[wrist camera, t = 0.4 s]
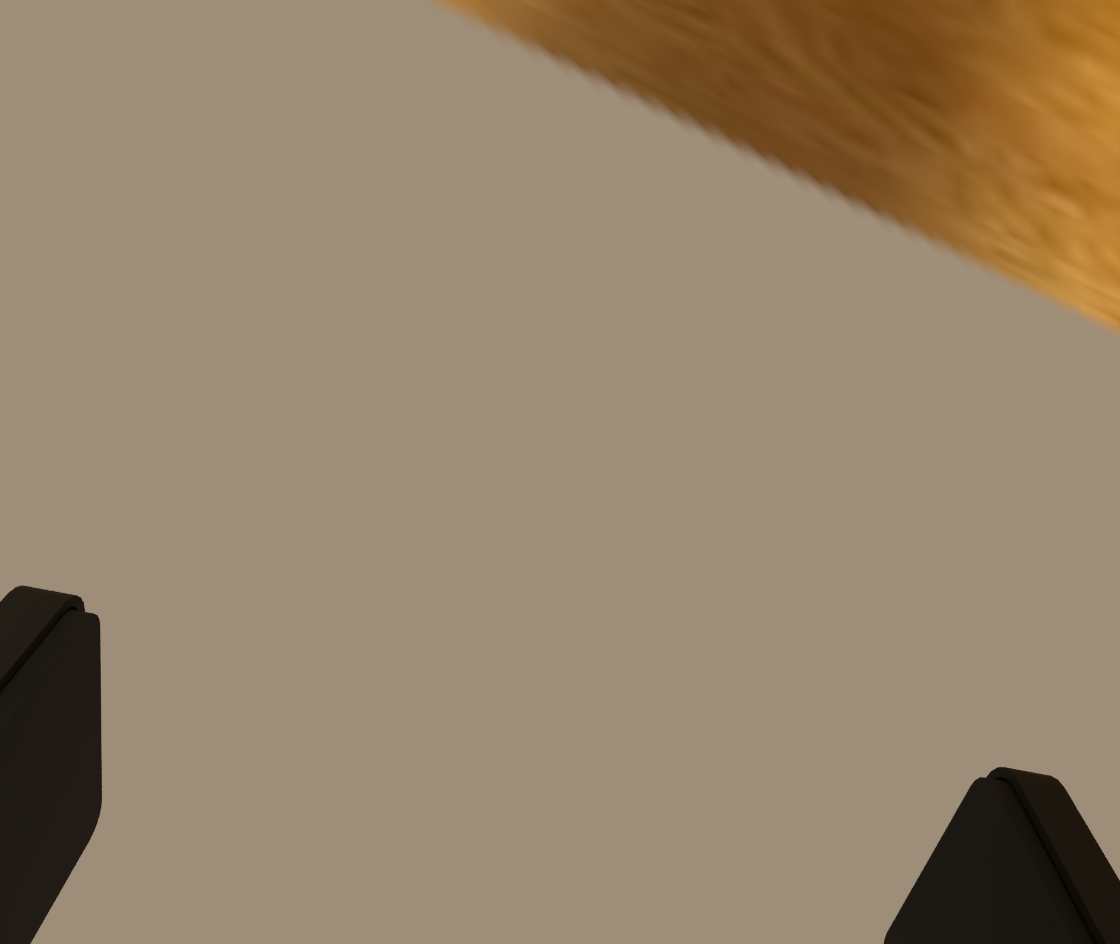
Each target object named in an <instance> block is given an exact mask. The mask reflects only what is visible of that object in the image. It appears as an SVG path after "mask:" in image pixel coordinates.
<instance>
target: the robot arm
mask: <svg viewBox="0 0 1120 944" xmlns="http://www.w3.org/2000/svg"><path fill="white" fill-rule="evenodd" d="M100 665H101V662H100V621H99V618H98V616H97V615H95V614H93V613H87V612H85V608H84V603H83V601H82V599H81V598H80V597H78V596H76V595H71V594H66V593H60V592H55V591H49V590H43V589H38V588H33V587H28V586H18V587H16V588H14V589H13V590H12V591H10V592H9V593H8V594H7V595H6V596H5V597H4V598H3V600H2V601H1V602H0V944H30V943H31V942H32V940H33V938H34V936H35V934H36V933H37V931H38V929H39V928H40V926H41V924H42V923H43V921H44V919H45V917H46V915H47V914H48V912H49V910H50V908H51V907H52V905H53V903H54V902H55V900H56V898H57V896H58V895H59V893H60V891H61V889H62V888H63V886H64V884H65V882H66V881H67V879H68V877H69V875H70V874H71V871H72V870H73V868H74V867H75V865H76V863H77V861H78V860H79V858H80V856H81V854H82V853H83V851H84V849H85V847H86V846H87V844H88V842H89V840H90V838H91V836H92V834H93V832H94V830H95V827H96V824H97V822H98V818H99V815H100V810H101V804H102V773H101V772H102V765H101V763H102V762H101V666H100ZM884 944H1120V880H1119V879H1118V877H1117V875H1116V874H1115V872H1114V870H1113V869H1112V867H1111V865H1110V864H1109V862H1108V860H1107V859H1106V857H1105V855H1104V853H1103V852H1102V850H1101V848H1100V847H1099V845H1098V843H1097V842H1096V840H1095V838H1094V837H1093V835H1092V833H1091V831H1090V830H1089V828H1088V826H1087V825H1086V823H1085V821H1084V820H1083V818H1082V816H1081V815H1080V813H1079V811H1078V810H1077V808H1076V806H1075V805H1074V803H1073V801H1072V800H1071V798H1070V796H1069V794H1068V793H1067V791H1066V790H1065V788H1064V786H1063V785H1062V784H1061V783H1060V782H1059V780H1057V779H1056V778H1054V777H1052V776H1049V775H1043V774H1038V773H1033V772H1027V771H1021V770H1016V769H1011V768H1006V767H998V768H996V769H994V770H993V771H991V772H990V773H989V775H988V776H987V777H986V778H981V777H980V778H978V779H977V780H975V781H974V782H973V784H972V785H971V786H970V788H969V790H968V792H967V794H966V795H965V797H964V799H963V801H962V803H961V804H960V806H959V808H958V809H957V811H956V813H955V815H954V816H953V818H952V820H951V822H950V823H949V825H948V827H947V829H946V830H945V832H944V834H943V836H942V837H941V839H940V841H939V843H938V844H937V846H936V848H935V850H934V851H933V853H932V855H931V857H930V858H929V860H928V862H927V864H926V865H925V867H924V869H923V871H922V872H921V874H920V876H919V878H918V879H917V881H916V883H915V885H914V886H913V888H912V890H911V892H910V893H909V895H908V897H907V899H906V900H905V902H904V904H903V906H902V907H901V909H900V911H899V913H898V915H897V916H896V918H895V920H894V921H893V923H892V925H891V927H890V928H889V930H888V932H887V934H886V937H885V940H884Z"/></svg>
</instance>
